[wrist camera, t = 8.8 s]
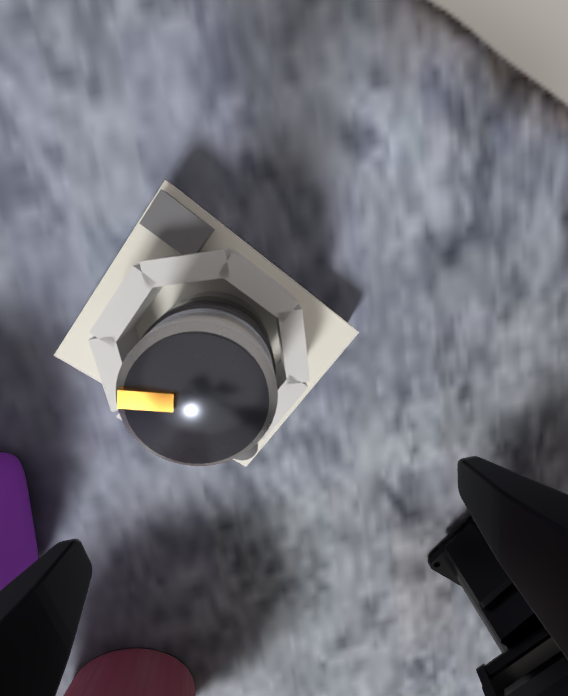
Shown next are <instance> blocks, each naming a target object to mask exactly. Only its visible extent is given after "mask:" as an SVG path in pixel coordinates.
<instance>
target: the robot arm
mask: <svg viewBox="0 0 568 696" xmlns="http://www.w3.org/2000/svg"><path fill="white" fill-rule="evenodd" d="M458 490H459V493H460V496H461V498H462V500H463V502H464V503H465V505H466V507H467V509H468V510H469V512H470V514H471V515H472V517H471V518H470V519H469V520H468V521H467V522H466V523H465V524H464V525H463V526H462V527H461V528H460V529H459V530H458V531H457V532H456V533H454V534H453V535H452V536H451V537H450V538H449V539H448V540H447V541H446V542H445V543H444V544H443V545H442V546H441V547H440V548H439V549H438V550H436V551H435V552H434V553H433V554H432V555H431V556H430V557H429V558H428V564H429V565H430V567H431V569H433V570H434V571H436V572H438V573H440V574H441V575H443V576H445V577H446V578H448V579H450V580H451V581H453V582H455V583H457V584H458V585H460V586H462V588H463V589H464V591H465V593H466V594H467V596H468V598H469V599H470V601H471V602H472V604H473V606H474V607H475V609H476V611H477V612H478V614H479V616H480V617H481V619H482V621H483V622H484V624H485V626H486V627H487V629H488V631H489V632H490V634H491V636H492V637H493V639H494V640H495V642H496V644H497V645H498V647H499V649H500V650H501V652H502V654H500V655H499V656H497V657H496V658H495V659H493V660H492V661H490V662H489V663H488V664H486V665H485V664H482V665H481V666H479V667H478V668H477V669H476V671H477V673H478V676H479V678H480V681H481V683H482V689H483V692H484V694H485V696H568V495H567V494H565V493H563V492H560V491H558V490H555V489H553V488H551V487H548V486H546V485H544V484H541V483H539V482H537V481H534V480H532V479H530V478H527V477H525V476H522V475H520V474H518V473H515V472H513V471H511V470H508V469H506V468H504V467H501V466H499V465H496V464H494V463H492V462H489V461H487V460H485V459H482V458H480V457H477V456H472V457H467V458H463V459H460V460H459V461H458ZM91 576H92V565H91V562H90V560H89V558H88V556H87V553H86V551H85V549H84V547H83V545H82V543H81V541H79V540H78V539H71V540H66V541H62V542H59V543H57V544H56V545H54V546H53V547H52V548H51V549H50V550H48V551H47V552H46V553H45V554H44V555H42V556H41V557H40V558H39V559H38V560H36V561H35V562H34V563H33V564H32V565H30V566H29V567H28V568H27V569H26V570H24V571H23V572H22V573H21V574H20V575H18V576H17V577H16V578H15V579H14V580H12V581H11V582H10V583H9V584H8V585H6V586H5V587H4V588H3V589H2V590H0V696H55V695H56V692H57V690H58V687H59V684H60V681H61V679H62V676H63V673H64V670H65V667H66V665H67V662H68V659H69V656H70V653H71V649H72V646H73V643H74V639H75V635H76V632H77V628H78V624H79V621H80V617H81V613H82V610H83V606H84V602H85V599H86V595H87V591H88V587H89V584H90V580H91Z"/></svg>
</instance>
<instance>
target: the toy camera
mask: <svg viewBox="0 0 568 696" xmlns="http://www.w3.org/2000/svg"><path fill="white" fill-rule="evenodd" d="M36 560H38V550H37V543H36V536H35V530H34V524H33V518H32V512H31V506H30V500H29V494H28V488H27V482H26V477H25V474H24V470H23V467H22V465H21V462H20V461H19V460H18V458H17V457H15V456H14V455H11V454H9V453H4V452H0V590H2V589H3V588H4V587H5V586H6V585H8V584H9V583H10V582H11V581H12V580H14V579H15V578H16V577H17V576H18V575H20V574H21V573H22V572H23V571H24V570H26V569H27V568H28V567H29V566H30V565H32V564H33V563H34V562H35V561H36Z"/></svg>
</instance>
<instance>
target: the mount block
mask: <svg viewBox="0 0 568 696" xmlns="http://www.w3.org/2000/svg"><path fill="white" fill-rule="evenodd" d="M209 291H216V292H224V293H228V294H231V295H234V296H236V297H238V298H240V299H242V300H244V301H245V302H247V303H248V304H249V305H250V306H251V307H252V308H253V309H254V310H255V311H256V312H257V314H258V315H259V317H260V318H261V320H262V322H263V324H264V327H265V330H266V331H267V333H268V336H269V339H270V342H271V347H272V351H273V355H274V360H275V366H276V382H277V389H278V402H277V408H276V413H275V416H274V418H273V421H272V423H271V425H270V427H269V429H268V431H267V432H266V433H265V435H264V436H263V437H262V439H261V440H260V441H259V442H258V443H257V444H256V445H255V446H253V447H252V448H251V449H250V450H248V451H247V452H245V453H244V454H242V455H240V456H238V457H236V458H234V459H233V460H235V461H237V462H239V463H240V464H242V465H244V466H247V465H248V464H249V463H250V461H251V460H252V459H253V458H254V457H255V456H256V454H257V453H258V452H259V451H260V450H261V448H262V447H263V446H264V445H265V444H266V442H267V441H268V440H269V439H270V438H271V437H272V435H273V434H274V433H275V432H276V431H277V429H278V428H279V427H280V426H281V425H282V423H283V422H284V421H285V420H286V419H287V417H288V416H289V415H290V414H291V413H292V412H293V410H294V409H295V408H296V407H297V406H298V404H299V403H300V402H301V401H302V400H303V398H304V397H305V396H306V395H307V394H308V392H309V391H310V390H311V389H312V388H313V387H314V385H315V384H316V383H317V382H318V381H319V379H320V378H321V377H322V376H323V375H324V373H325V372H326V371H327V370H328V369H329V367H330V366H331V365H332V364H333V363H334V362H335V360H336V359H337V358H338V357H339V356H340V354H341V353H342V352H343V351H344V350H345V348H346V347H347V346H348V345H349V344H350V342H351V341H352V340H353V339H354V338H355V337H356V335H357V334H358V333H359V332H358V331H357V330H356V329H355V328H353V327H352V326H351V325H350V324H349V323H348V322H346V321H345V320H344V319H343V318H341V317H340V316H339V315H338V314H336V313H335V312H334V311H332V310H331V309H330V308H329V307H327V306H326V305H325V304H324V303H322V302H321V301H320V300H318V299H317V298H316V297H315V296H313V295H312V294H311V293H310V292H308V291H307V290H306V289H305V288H303V287H302V286H301V285H299V284H298V283H297V282H296V281H294V280H293V279H292V278H291V277H289V276H288V275H287V274H285V273H284V272H283V271H282V270H280V269H279V268H278V267H277V266H275V265H274V264H273V263H271V262H270V261H269V260H268V259H266V258H265V257H264V256H263V255H261V254H260V253H259V252H258V251H256V250H255V249H254V248H252V247H251V246H250V245H249V244H247V243H246V242H245V241H244V240H242V239H241V238H240V237H238V236H237V235H236V234H235V233H233V232H232V231H231V230H230V229H228V228H227V227H226V226H224V225H223V224H222V223H221V222H219V221H218V220H217V219H216V218H214V217H213V216H212V215H211V214H209V213H208V212H207V211H205V210H204V209H203V208H202V207H200V206H199V205H198V204H197V203H195V202H194V201H193V200H191V199H190V198H189V197H188V196H186V195H185V194H184V193H183V192H181V191H180V190H179V189H177V188H176V187H175V186H173V185H172V184H170V183H169V182H167V181H166V180H165V181H164V182H163V184H162V186H161V187H160V189H159V190H158V192H157V194H156V195H155V197H154V198H153V200H152V201H151V203H150V205H149V206H148V208H147V209H146V211H145V212H144V214H143V216H142V217H141V219H140V220H139V222H138V223H137V225H136V227H135V228H134V230H133V231H132V233H131V235H130V236H129V238H128V239H127V241H126V242H125V244H124V246H123V247H122V249H121V250H120V252H119V253H118V255H117V257H116V258H115V260H114V261H113V263H112V264H111V266H110V268H109V269H108V271H107V272H106V274H105V276H104V277H103V279H102V280H101V282H100V283H99V285H98V287H97V288H96V290H95V291H94V293H93V294H92V296H91V298H90V299H89V301H88V302H87V304H86V305H85V307H84V309H83V310H82V312H81V313H80V315H79V316H78V318H77V320H76V321H75V323H74V324H73V326H72V328H71V329H70V331H69V332H68V334H67V335H66V337H65V339H64V340H63V342H62V343H61V345H60V346H59V348H58V350H57V351H56V353H55V354H54V356H55V357H57V358H59V359H61V360H62V361H64V362H66V363H68V364H69V365H71V366H73V367H74V368H76V369H78V370H80V371H81V372H83V373H85V374H87V375H88V376H90V377H92V378H93V379H95V380H97V381H99V382H100V383H102V384H103V387H104V390H105V393H106V397H107V400H108V403H109V406H110V409H111V412H113V411H118V409H117V402H116V381H117V377H118V373H119V370H120V368H121V365H122V363H123V361H124V359H125V358H126V356H127V354H128V353H129V352H130V351H131V349H132V348H133V347H134V346H135V345H136V344H137V343H138V342H139V341H140V340H141V338H142V336H143V335H144V333H145V332H146V331H147V330H148V328H149V327H150V326H151V325H152V324H154V323H155V322H156V321H157V320H158V319H159V318H160V317H161V316H162V315H163V314H164V313H165V312H167V311H168V310H169V309H170V308H172V307H173V306H175V305H176V304H178V303H180V302H181V301H183V300H184V299H186V298H188V297H190V296H192V295H195V294H197V293H202V292H209ZM116 417H117V418H119V419H120V420H122V419H121V416H120V414H119V413H118V415H117V416H116Z"/></svg>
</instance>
